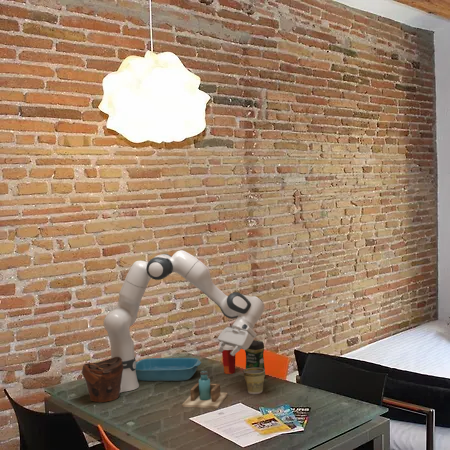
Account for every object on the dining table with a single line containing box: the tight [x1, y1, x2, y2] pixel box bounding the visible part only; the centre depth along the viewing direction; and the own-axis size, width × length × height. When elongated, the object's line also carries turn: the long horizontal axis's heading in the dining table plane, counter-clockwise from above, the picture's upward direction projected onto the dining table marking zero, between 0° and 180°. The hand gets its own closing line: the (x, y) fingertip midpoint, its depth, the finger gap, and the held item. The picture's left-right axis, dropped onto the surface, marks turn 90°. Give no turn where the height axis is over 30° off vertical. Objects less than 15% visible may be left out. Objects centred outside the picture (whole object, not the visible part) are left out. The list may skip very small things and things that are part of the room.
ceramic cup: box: [242, 368, 266, 395], centre depth 283 cm, size 13×10×10 cm
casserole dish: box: [136, 357, 202, 382], centre depth 314 cm, size 37×22×7 cm, turn 80°
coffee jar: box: [244, 340, 266, 378], centre depth 304 cm, size 10×8×19 cm
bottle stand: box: [181, 382, 229, 409], centre depth 272 cm, size 16×18×6 cm
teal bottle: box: [198, 370, 211, 400], centre depth 272 cm, size 5×5×12 cm
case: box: [81, 357, 123, 403], centre depth 282 cm, size 18×20×18 cm
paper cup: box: [221, 345, 236, 375], centre depth 315 cm, size 8×8×14 cm
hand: (225, 353), depth 279 cm, fingers open, 8 cm apart
